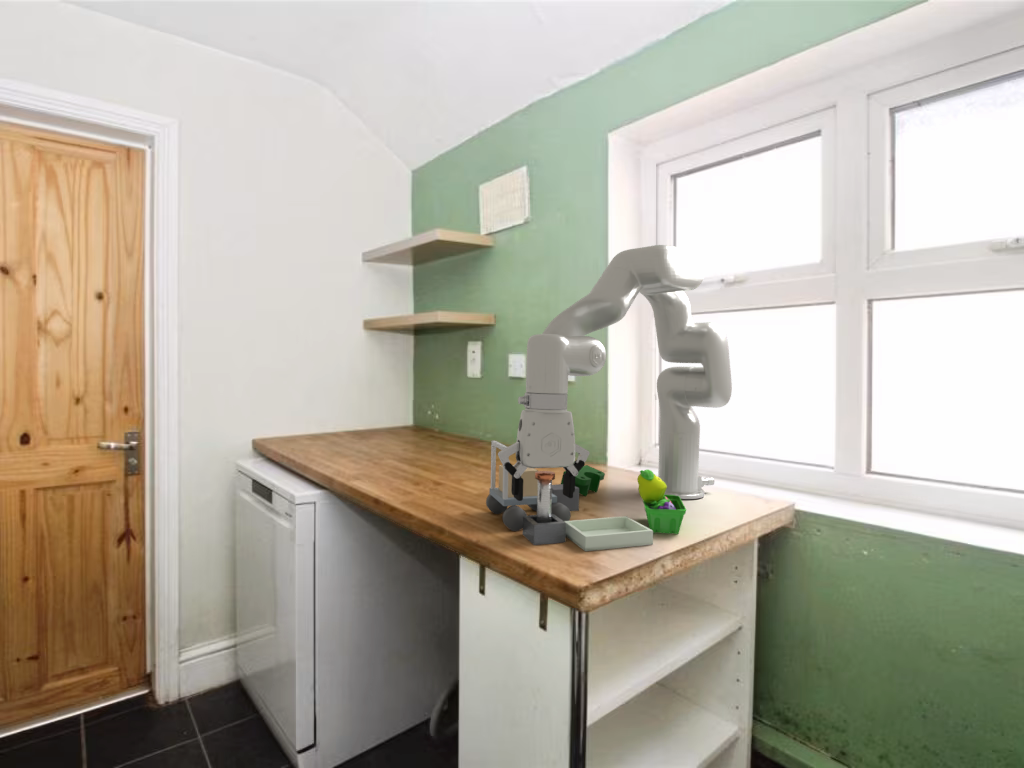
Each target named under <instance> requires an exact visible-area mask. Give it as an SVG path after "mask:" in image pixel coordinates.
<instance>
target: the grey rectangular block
mask: <svg viewBox="0 0 1024 768" xmlns="http://www.w3.org/2000/svg"><path fill="white" fill-rule="evenodd" d="M552 494H554V495H555V496H557V503H562V504H563V505H565V506H566V507H568V508H569V510H570V512H577V511H579V510H580V494H579V488H578V487H576V486H575V492H573V498H568V497H567V496H565V495H563V484H561V483H560V484H559V483H558V484H557V483H556V484H552ZM552 504H554V503H552Z"/></svg>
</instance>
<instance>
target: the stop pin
mask: <svg viewBox="0 0 1024 768" xmlns="http://www.w3.org/2000/svg"><path fill="white" fill-rule="evenodd" d="M535 479H537V480H538V491H537V511H536V515H537V523H548V522H551V508H552V485H553V481H555V480H556V472H554V471H551V470H538V471H537V472H535Z"/></svg>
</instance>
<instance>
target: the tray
mask: <svg viewBox="0 0 1024 768" xmlns="http://www.w3.org/2000/svg"><path fill="white" fill-rule="evenodd" d="M564 522H565V523H566V539H567V538H568V540H570V541H571V542H573V543H574V544H575V545H577V546H578V547H579V548H580V549H582V550H583V551H584V552H591V551H601V550H602V551H603V550H611V549H620V548H621V549H622V548H629V547H630V548H632V547H641V546H649V545H650V546H652V545H653V543H654V541H653V539H654V533H653V530H651V529H650V528H649V527H647V526H646V525H643V524H641V523H640V522H638V521H636V520H635V519H632V518H631V517H629V516H628V515H624V516H623V515H622V516H610V517H599V518H598V517H597V518H586V519H584V518H583V519H573V520H569V521H564Z"/></svg>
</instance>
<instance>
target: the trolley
mask: <svg viewBox="0 0 1024 768" xmlns="http://www.w3.org/2000/svg"><path fill="white" fill-rule="evenodd" d="M490 442H491V443H490V444H491V445H490V446H491V448H490V452H491V453H490V454H491V455H490V462H491V463H490V487H489V494H488V496H487V497H486V500H485V504H486V507H487V509H488V510H490V512H491V513H493V514H495V515H499V514H502V522H503V524H504V525H505V527H507V529H508V530H509V531H510V530H511V531H512V532H519V531H521V530H523V516H528V515H527V512H526V511H525V510H524V509H523V508H522V507H520V506H525V505H527V506H528V507H529V508H530V509H531V510H532V511H535V512H537V491H538V480H537V479H535V472H537V471H539V470H538V469H537V468H527V469H526V470H525V471H524V473H523V474H522V475H521V478H523V500H522V501H518V500H517V499H515V498H514V495H512V492H511V489H512V475H510V473H509V472H508V471H507V470H506V469H505V468H504V467H503V464H499V465H498V487H496V480H497V479H496V477H497V474H496V473H497V470H496V468H497V466H496V465H497V448H498V450H500V451H502V450H503V449H505V448H507V447H508V446H507V445H505V444H503V443H502V442H499V441H498V440H491V441H490ZM512 465H513V466H514V465H515V464H512ZM552 503H554V504H552V508H551V514H554V515H556V516H557V517H558V518H560V519H561V520H563V521H571V516H572V514H571V511H570V510H569V508H568V507H566V506H565V505H563V504H562V503H557V496H555V495H554V494H552Z"/></svg>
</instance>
